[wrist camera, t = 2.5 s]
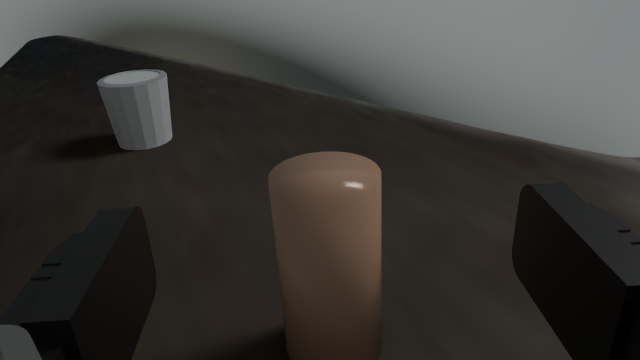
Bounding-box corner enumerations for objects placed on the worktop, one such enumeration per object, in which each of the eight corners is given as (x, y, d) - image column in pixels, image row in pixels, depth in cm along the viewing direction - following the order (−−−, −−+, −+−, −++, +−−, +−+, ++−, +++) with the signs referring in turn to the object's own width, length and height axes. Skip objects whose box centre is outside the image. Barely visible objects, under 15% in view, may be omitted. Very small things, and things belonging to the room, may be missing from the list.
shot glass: (98, 148, 55) (81, 83, 52) (143, 126, 60) (131, 66, 57) (148, 156, 52) (133, 88, 49) (191, 132, 58) (180, 70, 54)
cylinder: (401, 347, 27) (405, 174, 22) (326, 399, 24) (314, 213, 20) (339, 300, 30) (332, 143, 26) (268, 341, 28) (247, 173, 23)
